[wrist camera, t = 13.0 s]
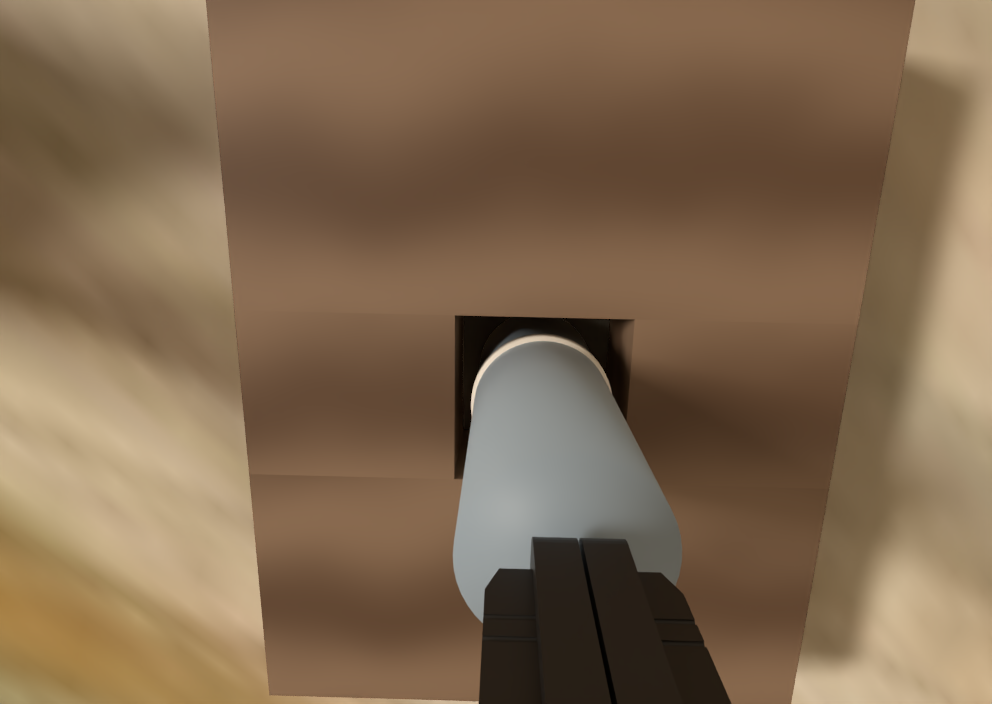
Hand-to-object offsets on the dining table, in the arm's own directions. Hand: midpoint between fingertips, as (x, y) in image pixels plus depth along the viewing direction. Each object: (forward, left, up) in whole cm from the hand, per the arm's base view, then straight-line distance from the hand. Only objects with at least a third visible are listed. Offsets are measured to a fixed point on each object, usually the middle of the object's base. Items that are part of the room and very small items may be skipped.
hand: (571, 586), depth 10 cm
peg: (0, 0, -13) cm, 13 cm away
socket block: (0, 0, -13) cm, 13 cm away
